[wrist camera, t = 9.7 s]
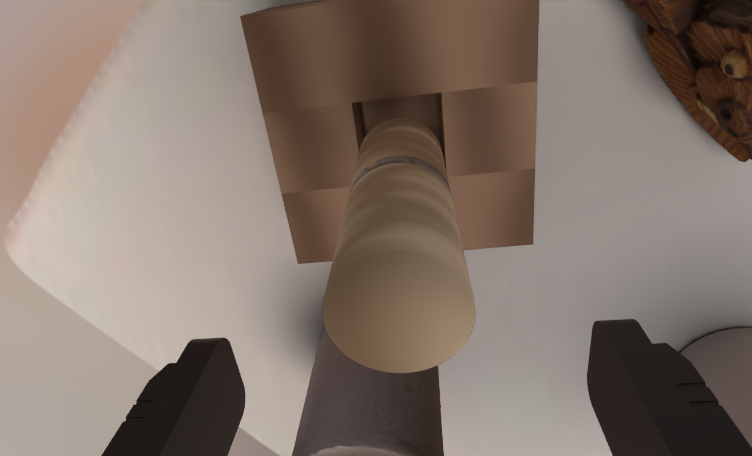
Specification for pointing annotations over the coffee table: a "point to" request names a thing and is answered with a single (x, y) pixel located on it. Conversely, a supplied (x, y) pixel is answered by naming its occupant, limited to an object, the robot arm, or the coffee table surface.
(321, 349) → the pillar candle
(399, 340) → the peg
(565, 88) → the coffee table surface
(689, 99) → the wooden carving
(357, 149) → the socket block
